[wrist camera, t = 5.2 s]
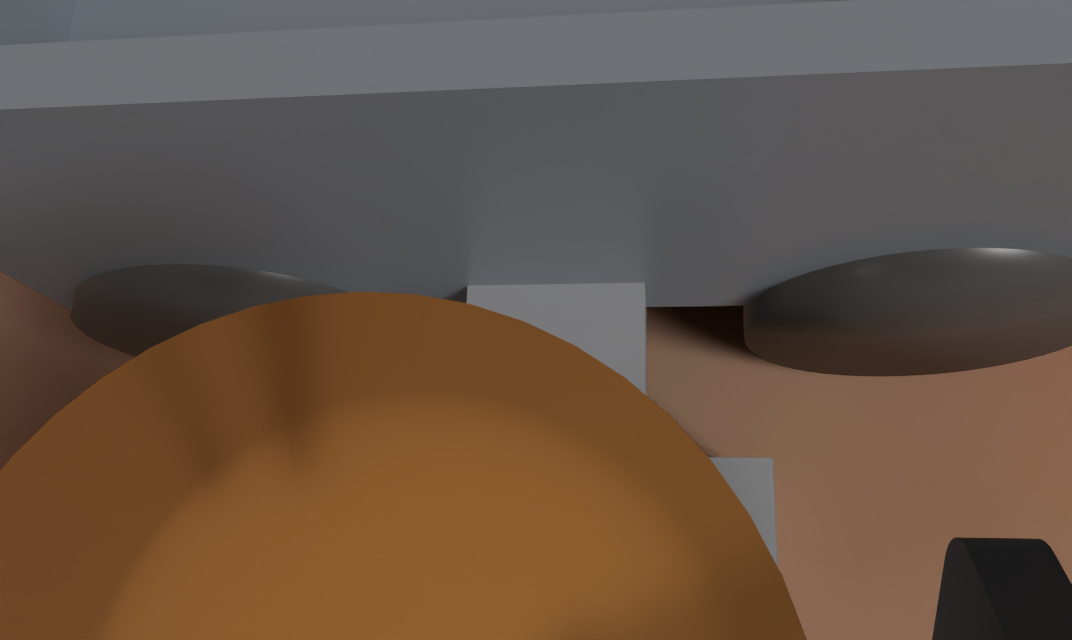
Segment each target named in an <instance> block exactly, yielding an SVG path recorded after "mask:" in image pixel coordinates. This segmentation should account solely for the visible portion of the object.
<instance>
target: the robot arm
mask: <svg viewBox="0 0 1072 640" xmlns="http://www.w3.org/2000/svg"><path fill="white" fill-rule="evenodd" d="M932 640H1072V584H1071V583H1070V581H1069V579H1068V577H1067V575H1066V574H1065V572H1064V570H1063V568H1062V566H1061V565H1060V563H1059V561H1058V559H1057V557H1056V556H1055V554H1054V552H1053V551H1052V549H1051V548H1050V546H1049V545H1048V544H1047V543H1046V542H1045V541H1043V540H1041V539H1015V538H953V539H952V540H951V541H950V543H949V545H948V548H947V551H946V556H945V561H944V568H943V574H942V580H941V587H940V593H939V600H938V606H937V612H936V619H935V625H934V631H933V638H932Z"/></svg>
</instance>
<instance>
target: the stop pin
mask: <svg viewBox="0 0 1072 640" xmlns="http://www.w3.org/2000/svg"><path fill="white" fill-rule="evenodd" d="M0 640H807V639H806V636H805V634H804V631H803V629H802V626H801V623H800V621H799V618H798V616H797V613H796V610H795V608H794V605H793V603H792V600H791V597H790V595H789V592H788V589H787V587H786V584H785V582H784V579H783V576H782V574H781V572H780V570H779V569H778V567H777V565H776V563H775V561H774V559H773V557H772V555H771V554H770V552H769V550H768V548H767V546H766V544H765V542H764V540H763V539H762V537H761V535H760V533H759V531H758V529H757V527H756V525H755V523H754V522H753V520H752V518H751V516H750V514H749V513H748V512H747V510H746V509H745V507H744V506H743V504H742V503H741V502H740V500H739V499H738V497H737V496H736V495H735V493H734V492H733V490H732V489H731V487H730V486H729V485H728V483H727V482H726V480H725V479H724V478H723V476H722V475H721V473H720V472H719V470H718V469H717V468H716V466H715V465H714V463H713V462H712V461H711V460H710V459H709V458H708V456H707V455H706V454H705V453H704V452H703V451H702V450H701V449H700V448H699V447H698V446H697V444H696V443H695V442H694V441H693V440H692V439H691V438H690V437H689V436H688V435H687V434H686V432H685V431H684V430H683V429H682V428H681V427H680V426H679V425H678V424H677V423H676V422H675V420H674V419H673V418H672V417H671V416H670V415H669V414H668V413H666V412H665V411H664V410H663V409H662V408H660V407H659V406H658V405H657V404H656V403H654V402H653V401H652V400H651V399H650V398H649V397H647V396H646V395H645V394H644V393H643V392H641V391H640V390H639V389H638V388H637V387H636V386H634V385H633V384H632V383H631V382H630V381H628V380H627V379H626V378H625V377H624V376H622V375H620V374H619V373H617V372H616V371H614V370H613V369H611V368H610V367H608V366H606V365H605V364H603V363H602V362H600V361H599V360H597V359H596V358H594V357H592V356H591V355H589V354H588V353H586V352H585V351H583V350H581V349H580V348H578V347H577V346H575V345H573V344H571V343H569V342H567V341H565V340H563V339H561V338H558V337H556V336H554V335H552V334H550V333H548V332H546V331H544V330H541V329H539V328H537V327H535V326H533V325H531V324H529V323H527V322H524V321H522V320H519V319H516V318H513V317H509V316H506V315H503V314H500V313H497V312H494V311H491V310H487V309H484V308H481V307H478V306H475V305H472V304H468V303H462V302H457V301H451V300H445V299H440V298H434V297H429V296H423V295H418V294H403V293H382V292H362V291H360V292H347V293H335V294H322V295H309V296H303V297H298V298H293V299H288V300H283V301H278V302H273V303H269V304H264V305H259V306H254V307H250V308H247V309H244V310H241V311H238V312H236V313H233V314H230V315H227V316H224V317H221V318H218V319H215V320H212V321H209V322H206V323H203V324H200V325H198V326H196V327H193V328H191V329H189V330H187V331H185V332H183V333H181V334H179V335H177V336H174V337H172V338H170V339H168V340H166V341H164V342H162V343H160V344H157V345H155V346H153V347H151V348H149V349H147V350H146V351H144V352H143V353H141V354H139V355H138V356H136V357H135V358H133V359H131V360H130V361H128V362H127V363H125V364H123V365H122V366H120V367H118V368H117V369H115V370H114V371H112V372H110V373H109V374H107V375H106V376H104V377H102V378H101V379H99V380H98V381H97V382H96V383H94V384H93V385H92V386H91V387H89V388H88V389H87V390H85V391H84V392H83V393H82V394H80V395H79V396H78V397H77V398H75V399H74V400H73V401H71V402H70V403H69V404H68V405H66V406H65V407H64V408H63V409H61V410H60V411H59V412H58V413H56V414H55V415H54V416H53V417H52V418H51V419H50V420H49V421H48V422H47V423H46V424H45V425H44V426H43V427H42V428H41V429H40V430H39V431H38V432H37V433H36V434H35V435H33V436H32V437H31V438H30V439H29V440H28V441H27V442H26V443H25V444H24V445H23V446H22V447H21V448H20V449H19V450H18V451H17V452H16V453H15V454H14V455H13V456H12V457H11V458H10V460H9V461H8V462H7V463H6V464H5V466H4V467H3V468H2V469H1V470H0Z"/></svg>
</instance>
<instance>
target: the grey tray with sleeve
mask: <svg viewBox="0 0 1072 640" xmlns="http://www.w3.org/2000/svg"><path fill="white" fill-rule="evenodd" d="M0 271H1V272H2V273H4V274H6V275H8V276H10V277H12V278H13V279H15V280H17V281H19V282H21V283H22V284H24V285H26V286H28V287H30V288H32V289H33V290H35V291H37V292H39V293H41V294H42V295H44V296H46V297H48V298H50V299H52V300H53V301H55V302H57V303H59V304H61V305H62V306H64V307H66V308H68V309H70V310H72V311H71V318H72V321H73V323H74V324H75V325H76V326H77V328H78V329H79V330H81V331H82V332H83V333H85V334H86V335H87V336H89V337H91V338H93V339H94V340H96V341H98V342H100V343H102V344H104V345H107V346H109V347H111V348H114V349H116V350H119V351H122V352H125V353H128V354H131V355H134V356H138V355H139V354H141V353H143V352H144V351H146V350H147V349H149V348H151V347H153V346H155V345H157V344H160V343H162V342H164V341H166V340H168V339H170V338H172V337H174V336H177V335H179V334H181V333H183V332H185V331H187V330H189V329H191V328H193V327H196V326H198V325H200V324H203V323H206V322H209V321H212V320H215V319H218V318H221V317H224V316H227V315H230V314H233V313H236V312H238V311H241V310H244V309H247V308H250V307H254V306H259V305H264V304H269V303H273V302H278V301H283V300H288V299H293V298H298V297H303V296H309V295H322V294H335V293H347V292H360V291H362V292H382V293H403V294H418V295H423V296H429V297H434V298H440V299H445V300H451V301H457V302H462V303H468V304H472V305H475V306H478V307H481V308H484V309H487V310H491V311H494V312H497V313H500V314H503V315H506V316H509V317H513V318H516V319H519V320H522V321H524V322H527V323H529V324H531V325H533V326H535V327H537V328H539V329H541V330H544V331H546V332H548V333H550V334H552V335H554V336H556V337H558V338H561V339H563V340H565V341H567V342H569V343H571V344H573V345H575V346H577V347H578V348H580V349H581V350H583V351H585V352H586V353H588V354H589V355H591V356H592V357H594V358H596V359H597V360H599V361H600V362H602V363H603V364H605V365H606V366H608V367H610V368H611V369H613V370H614V371H616V372H617V373H619V374H620V375H622V376H624V377H625V378H626V379H627V380H628V381H630V382H631V383H632V384H633V385H634V386H636V387H637V388H638V389H639V390H640V391H641V392H643V393H644V394H645V395H646V396H647V335H646V307H685V306H743V321H744V341H745V344H746V346H747V347H748V348H749V349H750V351H751V352H753V353H754V354H756V355H757V356H759V357H760V358H763V359H765V360H767V361H769V362H772V363H775V364H778V365H781V366H785V367H789V368H793V369H798V370H804V371H809V372H817V373H825V374H836V375H851V376H909V375H926V374H939V373H949V372H958V371H966V370H973V369H980V368H987V367H992V366H998V365H1003V364H1008V363H1013V362H1018V361H1022V360H1026V359H1030V358H1034V357H1038V356H1042V355H1045V354H1048V353H1052V352H1055V351H1058V350H1061V349H1064V348H1066V347H1069V346H1072V0H0ZM708 458H709V459H710V460H711V461H712V462H713V463H714V465H715V466H716V468H717V469H718V470H719V472H720V473H721V475H722V476H723V478H724V479H725V480H726V482H727V483H728V485H729V486H730V487H731V489H732V490H733V492H734V493H735V495H736V496H737V497H738V499H739V500H740V502H741V503H742V504H743V506H744V507H745V509H746V510H747V512H748V513H749V514H750V516H751V518H752V520H753V522H754V523H755V525H756V527H757V529H758V531H759V533H760V535H761V537H762V539H763V540H764V542H765V544H766V546H767V548H768V550H769V552H770V554H771V555H772V557H773V559H774V561H775V563H776V565H777V567H778V558H777V537H776V517H775V496H774V475H773V458H733V457H708Z"/></svg>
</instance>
